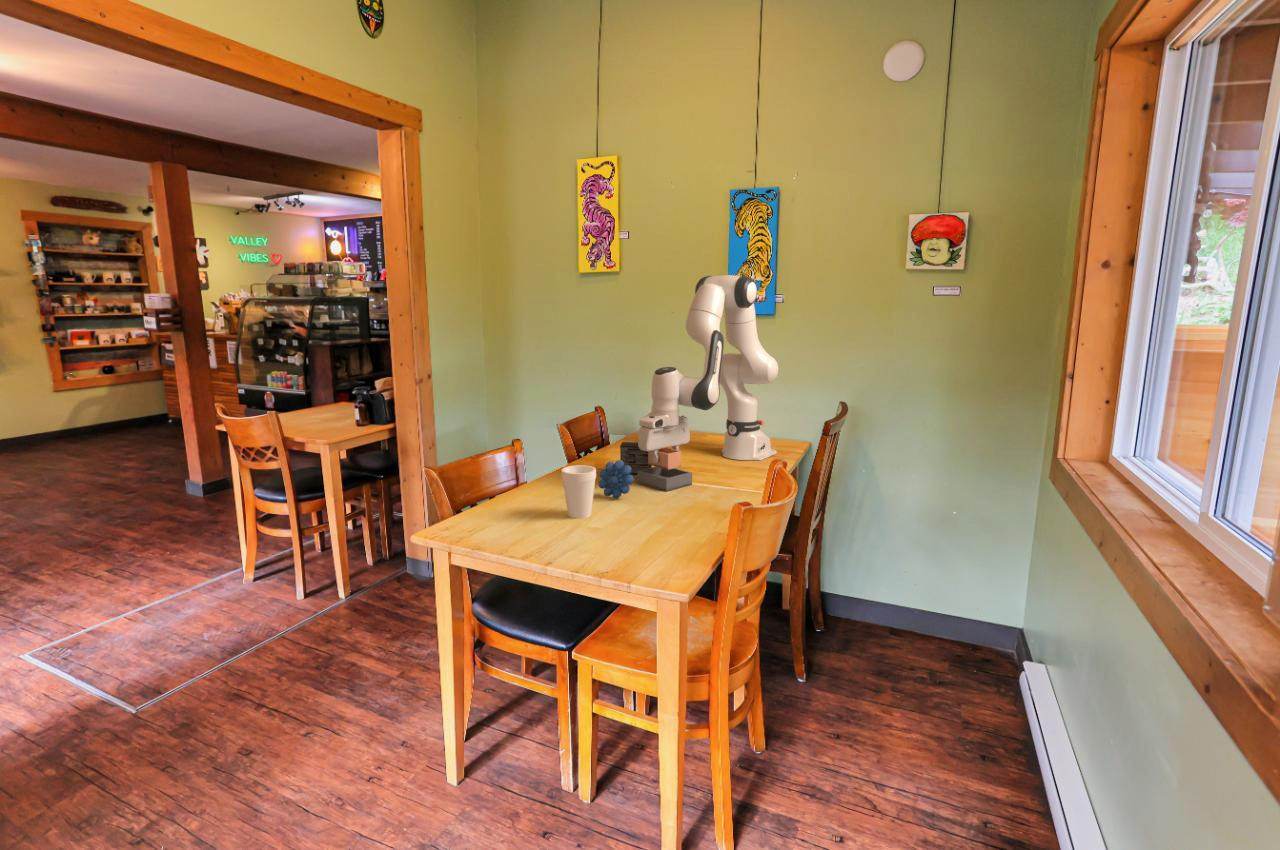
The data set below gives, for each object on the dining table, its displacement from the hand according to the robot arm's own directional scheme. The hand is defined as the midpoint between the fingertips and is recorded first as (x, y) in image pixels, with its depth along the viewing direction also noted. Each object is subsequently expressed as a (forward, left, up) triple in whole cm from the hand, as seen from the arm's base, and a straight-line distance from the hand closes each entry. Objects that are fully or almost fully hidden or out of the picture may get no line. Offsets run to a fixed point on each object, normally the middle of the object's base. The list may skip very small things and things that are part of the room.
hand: (664, 460), depth 207 cm
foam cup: (+39, +6, -8) cm, 40 cm away
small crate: (0, 0, -2) cm, 2 cm away
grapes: (+21, +1, -8) cm, 22 cm away
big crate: (0, 0, -8) cm, 8 cm away
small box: (-2, -16, -8) cm, 18 cm away
